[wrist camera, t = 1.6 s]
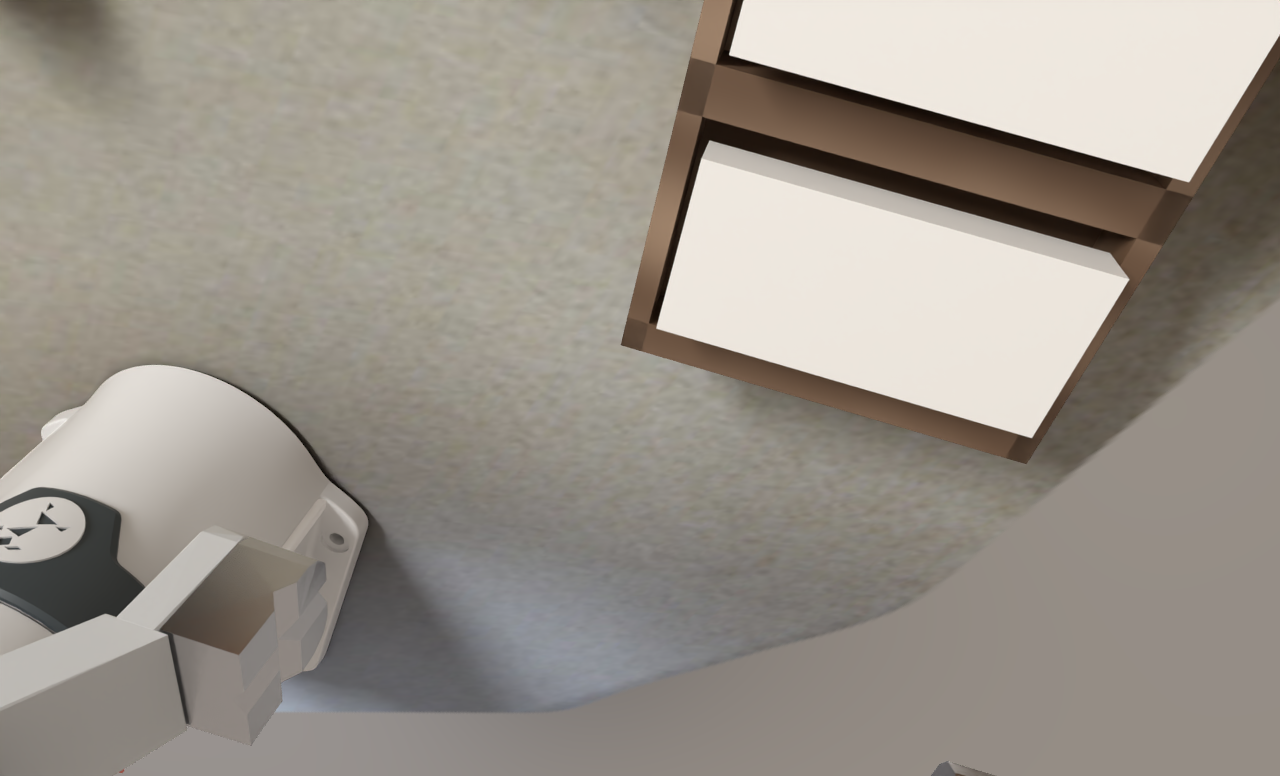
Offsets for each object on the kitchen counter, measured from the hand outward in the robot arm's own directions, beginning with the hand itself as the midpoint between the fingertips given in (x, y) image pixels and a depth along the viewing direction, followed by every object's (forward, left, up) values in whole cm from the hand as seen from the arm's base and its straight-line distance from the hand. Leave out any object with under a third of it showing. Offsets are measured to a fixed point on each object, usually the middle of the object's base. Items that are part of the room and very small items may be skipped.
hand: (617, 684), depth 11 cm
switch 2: (-2, -5, -20) cm, 20 cm away
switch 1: (+7, -5, -20) cm, 22 cm away
